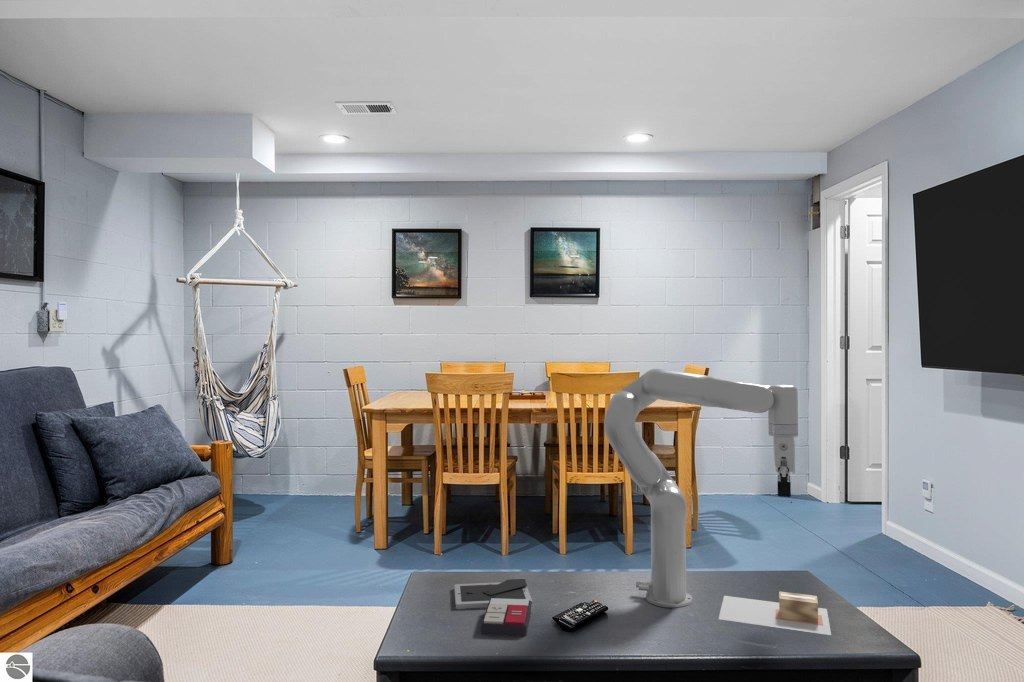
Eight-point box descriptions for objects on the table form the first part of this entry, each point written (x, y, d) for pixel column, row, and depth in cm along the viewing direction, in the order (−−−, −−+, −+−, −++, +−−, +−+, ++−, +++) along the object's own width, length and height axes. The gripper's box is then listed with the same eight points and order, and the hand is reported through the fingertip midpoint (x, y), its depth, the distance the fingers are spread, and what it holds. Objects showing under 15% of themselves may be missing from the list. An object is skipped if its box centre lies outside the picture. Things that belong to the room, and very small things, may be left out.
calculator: (481, 621, 159) (489, 595, 174) (481, 638, 159) (490, 611, 174) (526, 622, 158) (531, 597, 173) (526, 640, 158) (531, 613, 173)
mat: (718, 621, 167) (718, 618, 167) (724, 597, 183) (724, 595, 183) (831, 637, 157) (831, 634, 157) (826, 610, 174) (826, 608, 174)
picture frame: (524, 588, 193) (454, 591, 191) (524, 578, 193) (454, 581, 191) (532, 608, 177) (455, 612, 175) (532, 598, 178) (455, 601, 175)
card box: (817, 615, 169) (816, 595, 169) (818, 623, 164) (817, 602, 164) (779, 610, 172) (779, 590, 172) (779, 618, 167) (779, 598, 167)
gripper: (798, 434, 169) (799, 500, 169) (797, 427, 185) (798, 488, 185) (767, 432, 172) (768, 498, 172) (769, 426, 188) (770, 486, 188)
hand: (784, 493), depth 178 cm, fingers open, 9 cm apart
